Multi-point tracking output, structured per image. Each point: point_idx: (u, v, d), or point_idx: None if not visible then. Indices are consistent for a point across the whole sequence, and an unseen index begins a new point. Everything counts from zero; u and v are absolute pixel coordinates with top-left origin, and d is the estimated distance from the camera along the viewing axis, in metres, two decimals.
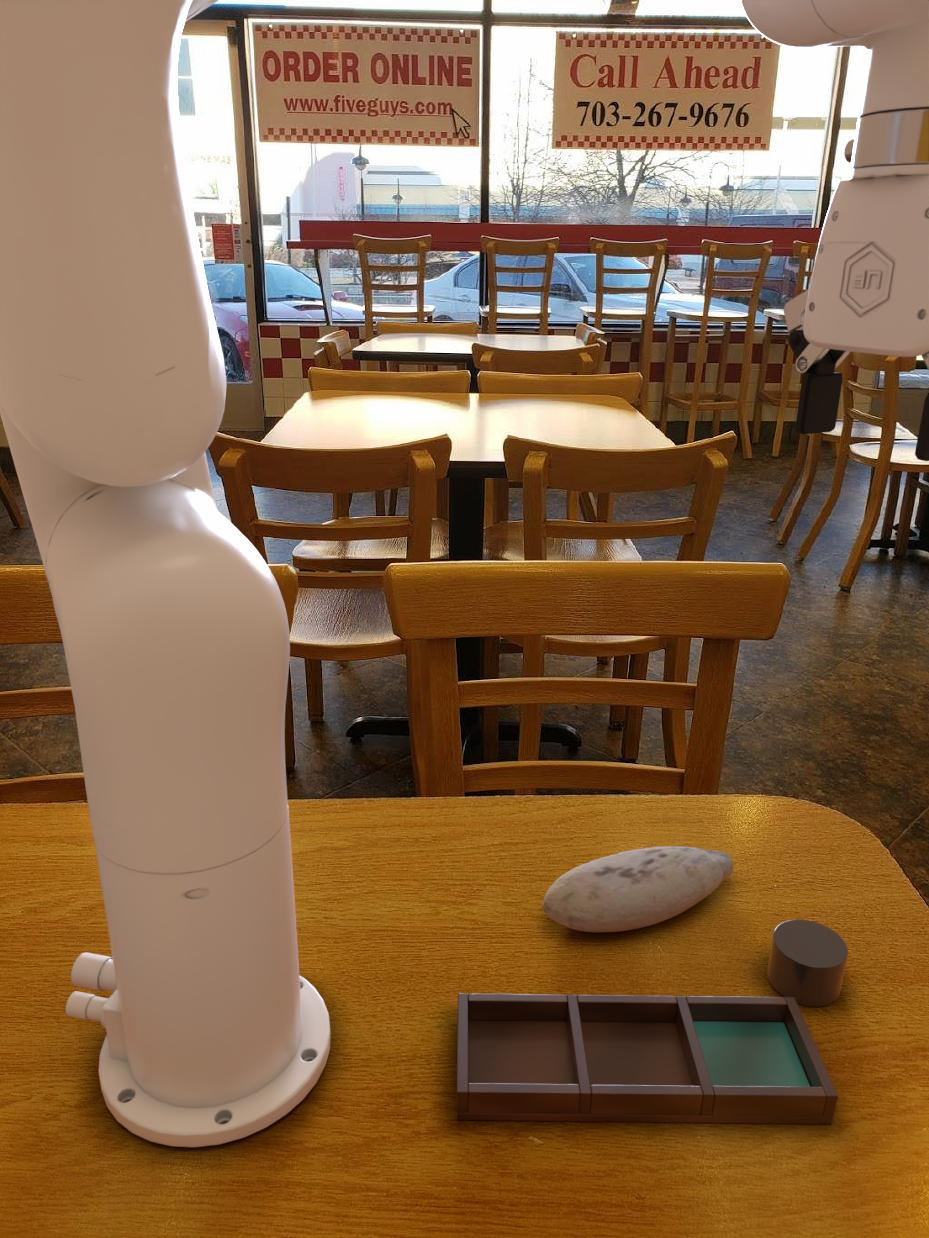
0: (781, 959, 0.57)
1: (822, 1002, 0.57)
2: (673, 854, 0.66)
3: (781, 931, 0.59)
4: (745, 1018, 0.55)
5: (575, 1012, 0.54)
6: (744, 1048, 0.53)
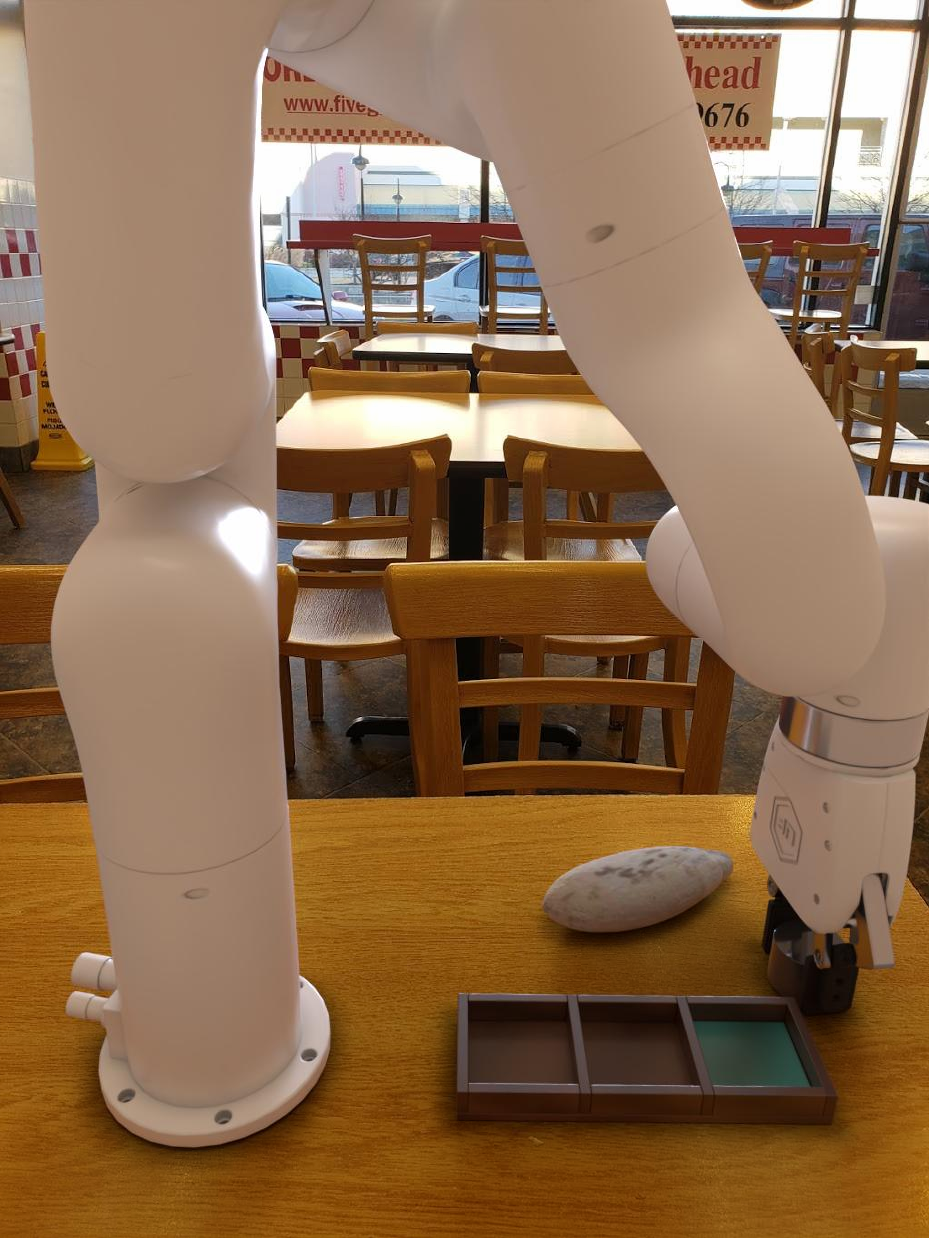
0: (781, 959, 0.57)
1: None
2: (673, 854, 0.66)
3: (781, 931, 0.59)
4: (745, 1018, 0.55)
5: (575, 1012, 0.54)
6: (744, 1048, 0.53)
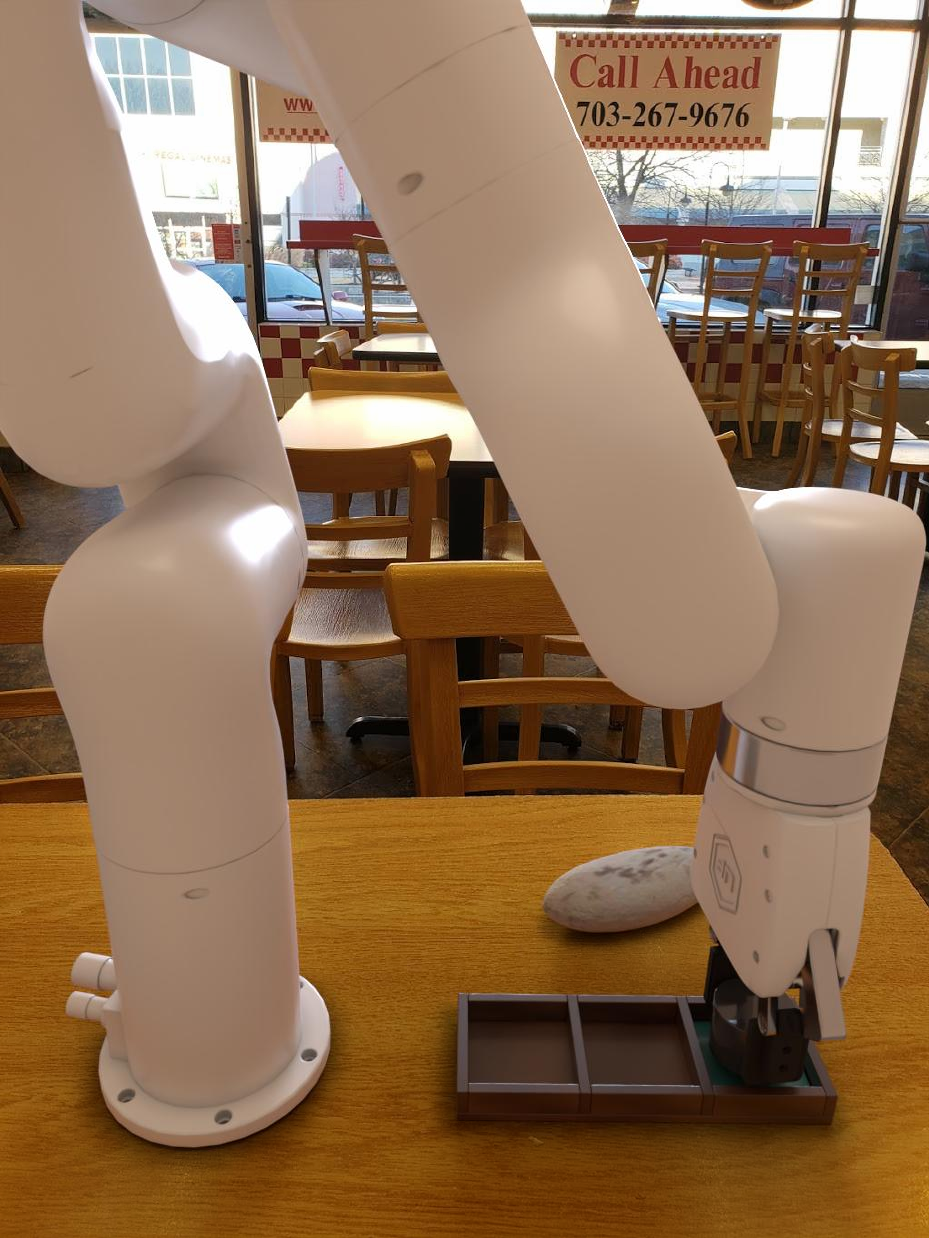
0: (721, 1024, 0.50)
1: None
2: (672, 853, 0.66)
3: (723, 991, 0.52)
4: None
5: (575, 1012, 0.54)
6: None
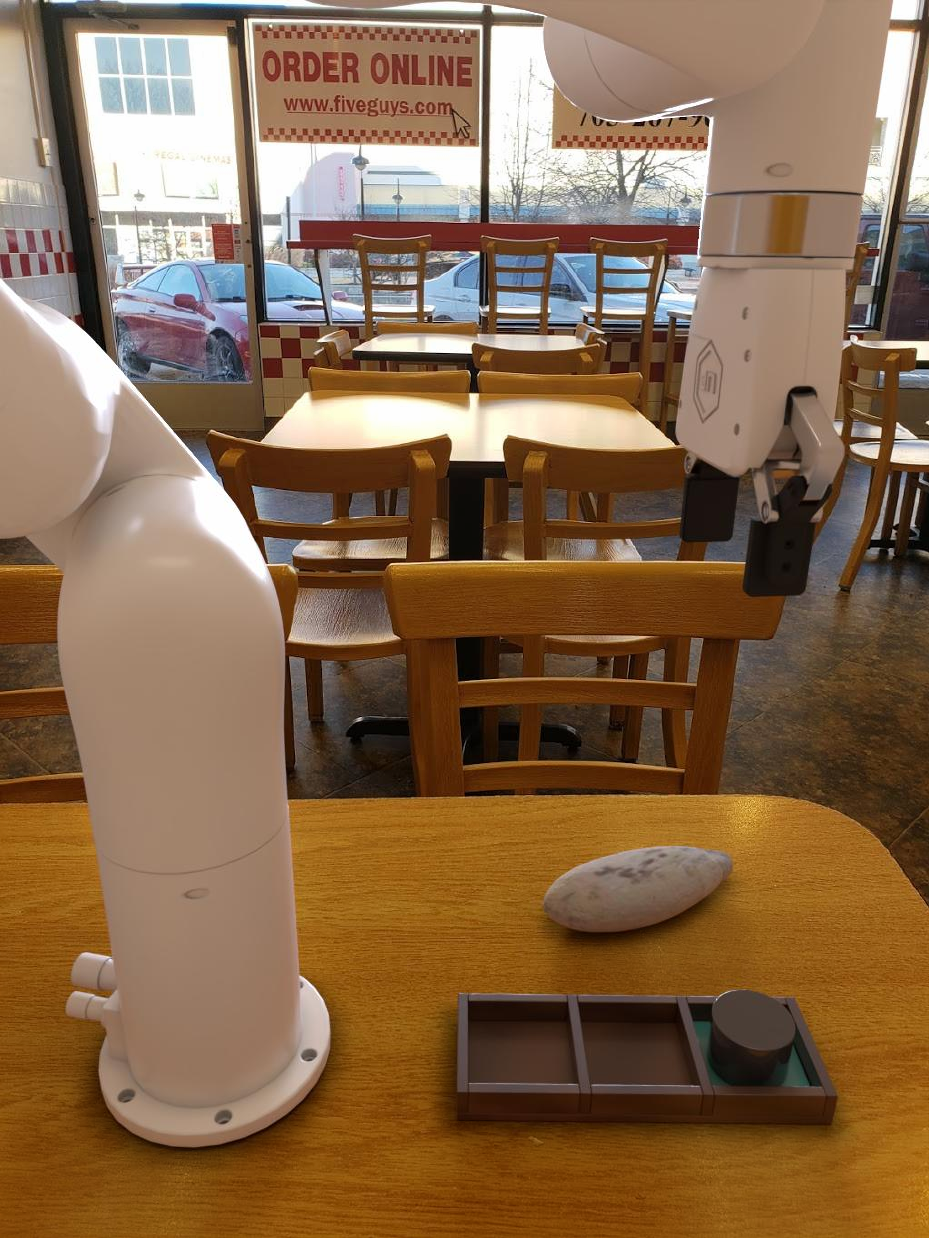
0: (719, 1038, 0.51)
1: None
2: (672, 853, 0.66)
3: (721, 1004, 0.52)
4: None
5: (575, 1012, 0.54)
6: None
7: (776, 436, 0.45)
